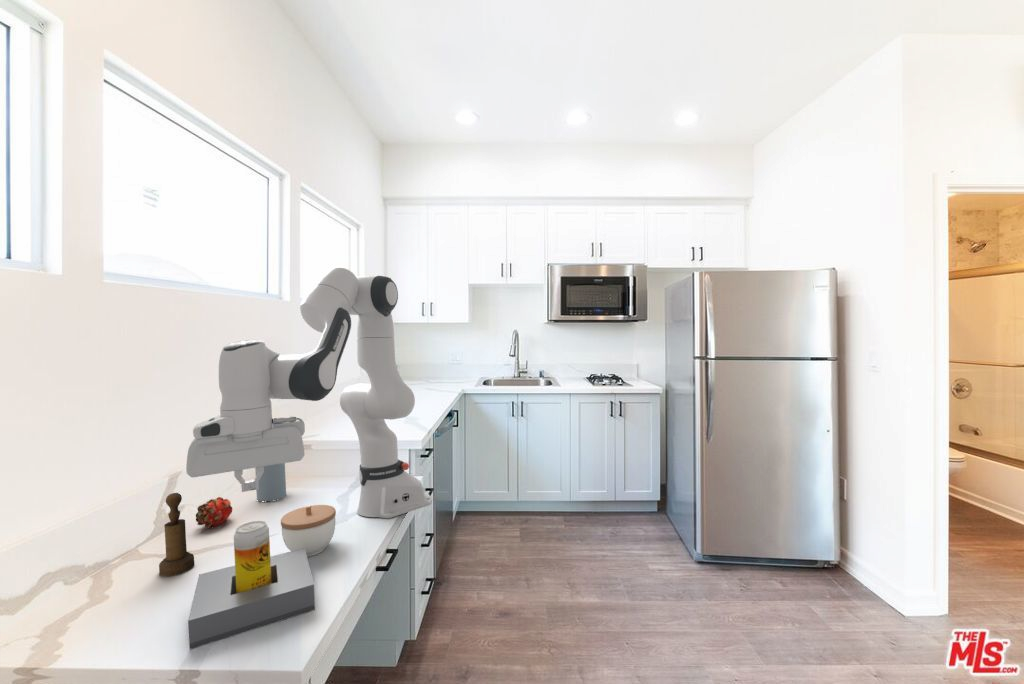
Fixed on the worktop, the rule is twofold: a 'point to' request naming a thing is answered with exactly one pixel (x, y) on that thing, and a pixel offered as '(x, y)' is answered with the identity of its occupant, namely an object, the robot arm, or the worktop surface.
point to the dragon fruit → (214, 512)
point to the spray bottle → (272, 483)
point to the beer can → (252, 556)
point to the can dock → (249, 599)
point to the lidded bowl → (309, 528)
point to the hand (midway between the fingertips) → (250, 490)
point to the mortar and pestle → (175, 541)
